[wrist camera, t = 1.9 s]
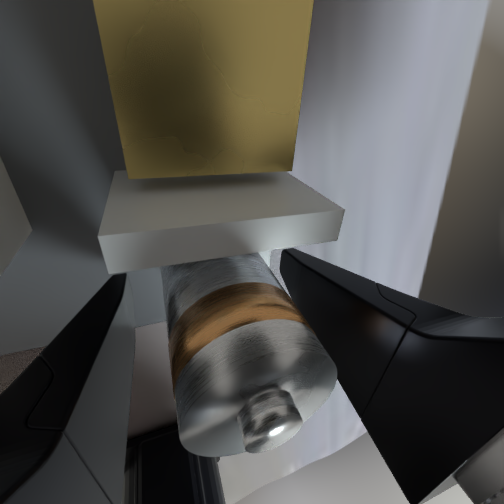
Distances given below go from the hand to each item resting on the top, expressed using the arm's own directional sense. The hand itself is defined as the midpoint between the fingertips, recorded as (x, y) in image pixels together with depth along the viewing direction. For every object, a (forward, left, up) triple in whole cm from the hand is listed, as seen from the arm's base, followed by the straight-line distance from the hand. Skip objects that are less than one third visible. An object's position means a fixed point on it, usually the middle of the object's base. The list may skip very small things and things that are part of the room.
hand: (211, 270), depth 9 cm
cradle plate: (+6, 0, 0) cm, 6 cm away
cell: (0, 0, -1) cm, 1 cm away
